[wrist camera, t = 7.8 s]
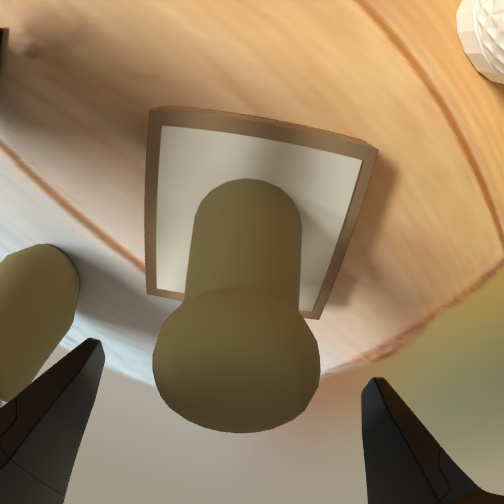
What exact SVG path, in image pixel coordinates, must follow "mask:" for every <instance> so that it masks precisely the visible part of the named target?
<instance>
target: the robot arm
mask: <svg viewBox="0 0 504 504" xmlns="http://www.w3.org/2000/svg"><path fill="white" fill-rule="evenodd" d="M1 38H2V28H0V44H1ZM104 363H105V354H104V350H103V347H102V343H101V341H100V340H97V339H94V338H88V339H86V340H85V341H84V342H82V343H81V344H80V345H78V346H77V347H76V348H75V349H73V350H72V351H71V352H69V353H68V354H67V355H66V356H64V357H63V358H62V359H61V360H59V361H58V362H57V363H56V364H54V365H53V366H52V367H51V368H49V369H48V370H47V371H46V372H44V373H43V374H42V375H41V376H40V377H38V378H37V379H36V380H34V381H33V382H32V383H31V384H29V385H28V386H27V387H26V388H25V389H23V390H22V391H21V392H20V393H18V394H17V395H16V397H14V398H12V399H11V400H10V401H9V402H7V403H6V404H5V405H4V406H2V407H1V408H0V504H63V502H64V498H65V494H66V490H67V487H68V483H69V479H70V476H71V472H72V468H73V465H74V462H75V459H76V455H77V452H78V449H79V446H80V443H81V440H82V436H83V434H84V431H85V428H86V425H87V422H88V419H89V416H90V413H91V410H92V408H93V405H94V402H95V398H96V394H97V390H98V386H99V382H100V378H101V374H102V370H103V367H104ZM361 408H362V439H363V449H364V459H365V470H366V481H367V495H368V504H504V496H501V495H496V494H492V493H489V492H486V491H484V490H482V489H481V488H480V487H478V486H477V485H476V484H475V483H474V482H473V481H472V480H471V479H470V478H469V477H468V476H467V475H466V474H465V473H464V472H463V471H462V470H461V469H460V468H459V467H458V466H457V464H456V463H454V461H453V460H452V459H451V458H450V457H449V456H448V454H447V453H446V452H445V451H444V449H443V448H442V447H440V445H439V443H438V442H437V441H436V440H435V438H434V437H433V436H432V435H431V434H430V433H429V431H428V430H427V429H426V428H425V426H424V425H423V424H422V423H421V421H420V420H419V419H418V418H417V417H416V415H414V413H413V412H412V411H411V410H410V408H409V407H408V406H407V405H406V403H405V402H404V401H403V400H402V399H401V398H400V396H399V395H398V394H397V393H396V391H395V390H394V389H393V388H392V387H391V386H390V384H389V383H388V382H387V381H386V380H385V379H384V378H383V377H373V378H371V380H370V381H369V382H368V384H367V385H366V386H365V388H364V389H363V391H362V394H361Z"/></svg>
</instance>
